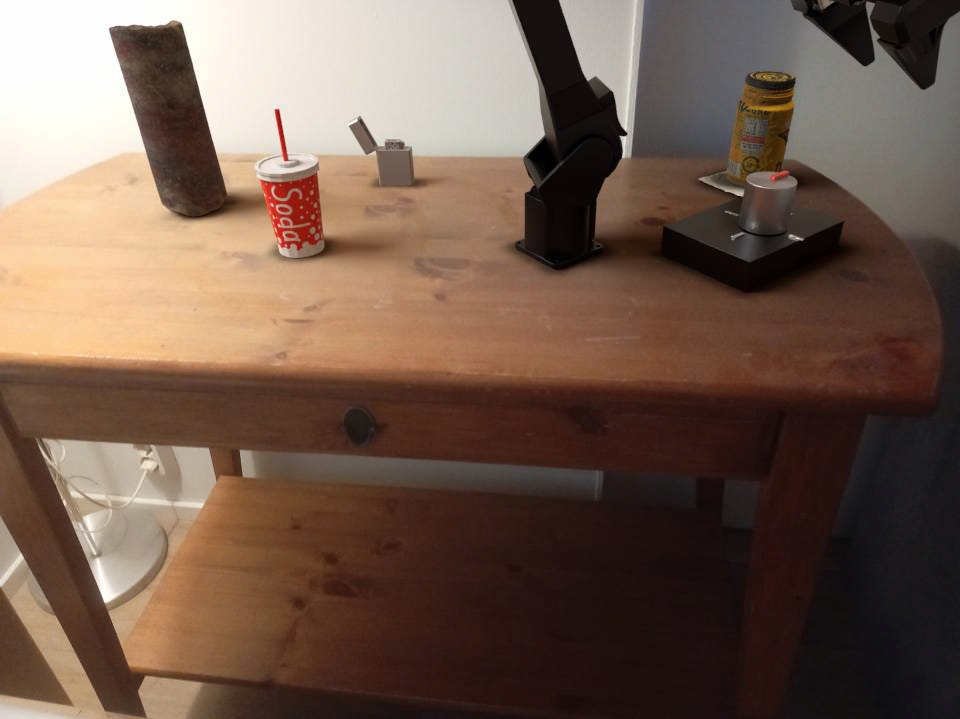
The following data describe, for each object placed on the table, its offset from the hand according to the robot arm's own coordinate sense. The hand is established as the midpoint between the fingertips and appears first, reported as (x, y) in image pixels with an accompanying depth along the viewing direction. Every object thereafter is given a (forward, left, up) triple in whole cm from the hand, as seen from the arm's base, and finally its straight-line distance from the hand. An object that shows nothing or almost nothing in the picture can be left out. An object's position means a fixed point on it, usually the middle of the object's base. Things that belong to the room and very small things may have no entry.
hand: (897, 74), depth 68 cm
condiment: (+2, +15, -15) cm, 21 cm away
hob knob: (-13, +2, -12) cm, 18 cm away
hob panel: (-13, +3, -15) cm, 20 cm away
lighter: (-31, +43, -15) cm, 55 cm away
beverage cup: (-47, +32, -15) cm, 59 cm away
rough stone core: (-52, +51, -15) cm, 75 cm away
